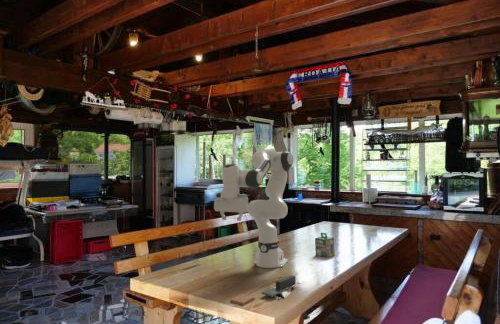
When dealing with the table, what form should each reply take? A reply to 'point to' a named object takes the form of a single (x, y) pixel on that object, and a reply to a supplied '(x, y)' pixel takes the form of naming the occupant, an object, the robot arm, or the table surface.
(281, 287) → the turner
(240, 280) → the table surface
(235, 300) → the tile
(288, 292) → the cloth
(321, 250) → the chalk box
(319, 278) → the table surface
